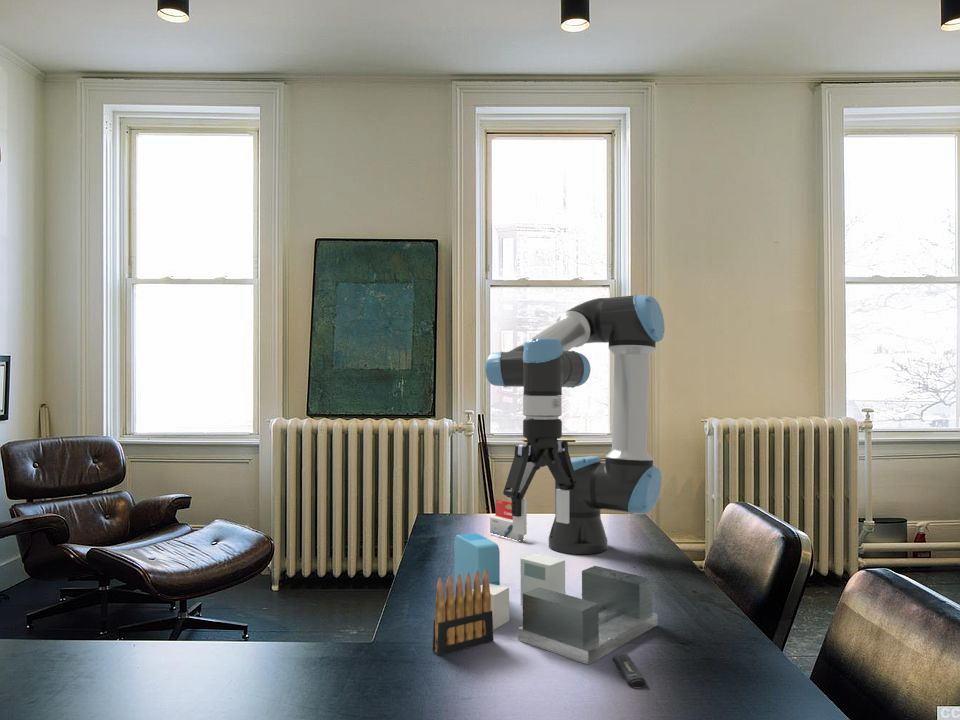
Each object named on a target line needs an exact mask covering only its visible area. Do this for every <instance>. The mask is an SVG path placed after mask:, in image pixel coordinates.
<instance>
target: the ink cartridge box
mask: <svg viewBox="0 0 960 720" xmlns="http://www.w3.org/2000/svg"><path fill="white" fill-rule="evenodd" d="M509 505H510V506H511V507H512V501H508V500H507V501H506V500H501V499H495V515H494V516H490V517H489V534H490V533H493V534H497V535H500V536H504V537H507V538H511V539H514V540H517V541H519V540H523V539H524V540H525V535H521V534H517V533H513V516H512V508H508V507H506V506H509Z"/></svg>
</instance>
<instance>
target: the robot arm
mask: <svg viewBox="0 0 960 720" xmlns="http://www.w3.org/2000/svg"><path fill="white" fill-rule="evenodd" d="M661 308H662V307H661V306H660V303H659V302H658V300H657V298H655V297H654V296H652V295H639V294H638V295H637V294H635V295H625V296H614V297H597V298H593V299H590V300H586V301H584V302H582V303H579V304H577V305H575V306H573V307H572V308H570V309H567V310H566V311H565V312H563V313H561V314H560V315H559V316H558V317H557V319H556V322H555V323H553V324H551V325H550V326H548V327H547V328H545V329H543V330H542V331H540V332H539V333H536V334H535V335H534V336H532V337H530V338H528V339H526V340H525V341H524V342H522V343H521V344H519V345H517V346H516V347H514V348H512V349H510V351H509V350H508V351H498V352H492V353H490V354H489V356H488V357H487V358H486V361H485V366H484V371H485V377H486V379H487V381H488V382H489V384H490V385H492V386H494V387H495V386H497V387H504V388H509V387H518V388H519V387H523V395H522V415H523V416H525V418H524V419H523V420H522V436H523V438H525V439H526V444H521V443H520V444H519V443H516V445H514V456H513V460H512V463H511V466H510V469H509V473H508V475H507V479H506V482H505V485H504V489H503V491H502V492H503V494H502V495H504V496H506V498H509V499H511V502H512V506H511V509H512V516H513V533H517V534H521V535H524V536H526V535H527V528H528V527H527V526H528V525H527V524H528V523H527V520H528V519H527V516H528V515H527V508H528V507H527V506H528V503H527V501H528V499H527V498H525V495H526V493H527V491H528V489H529V487H530V485H531V483H532V481H533V478H534V477H535V475H536V472H537V471H538V470H540V469H541V468H544V467H546V466H547V468H548V470H549V472H550V473H551V476H552V478H554V504H555V505H554V507H555V510H554V514H555V515H554V520H553V523H552V526H551V529H550V532H549V535H548V548H550V550H551V549H552V550H553V551H556V552H559V553H565V554H573V555H593V553H594V554H599V552H600V553H603V552H605V551H607V550H608V548H607V547H608V542H609V541H608V537H607V534H606V530H605V527H604V524H603V522H602V519H601V510H602V511H603V510H604V511H613V512H620V513H621V512H622V513H629V514H630V515H633V514H639V515H640V514H641V515H646V514H648V513H650V512H651V511H653V509H654V508H655V507H656V506H657V505H656V504H657V502H658V500H659V496H660V493H661V489H662V472H661V469H660V468H659V467H657V466H655V465H654V458H653V456H651V454H650V453H649V452H648V427H649V426H648V425H649V424H648V423H649V422H648V420H649V419H648V417H649V416H648V415H649V412H648V411H649V378H650V377H649V376H650V375H649V374H650V373H649V372H650V371H649V370H650V356H651V354H652V353H653V352H655V350H656V348H657V347H656V345H657V342H661V341H662V340H663V339H664V334H665V321H664V314H663V312H662V309H661ZM591 343H592V344H593V343H596V344H597V343H598V344H599V343H604V344H605V343H606V344H608V350H609V351H610V352H612V353H613V357H614V358H613V361H614V362H613V390H612V391H613V394H612V397H613V398H612V428H611V429H612V430H611V431H612V432H611V433H612V434H611V450H610V451H609V452H608V453H607V454H606V455H605V460H604V461H605V462H602V459H601V458H600V456H598V455H597V456H596V455H591V456H578V457H575V456H574V457H570V453H569V443H568V441H567V440H559V439H561V438H562V435H563V426H562V425H563V421H562V419H561V418H559V417H561V416H562V415H563V414H562V411H563V410H562V407H563V406H562V402H563V401H562V399H563V398H562V395H563V392H562V391H563V389H562V388H572V389H573V388H575V387H576V388H577V387H580V386H582V385H584V384H585V383H586V382H587V381H588V380H589V378H590V375H591V370H592V368H591V364H590V360H589V359H588V358H587V357H586V356H585V355H584V354H583V353H580V352H577V351H575V350H571V349H573V348H579V347H582V346H584V345H586V344H591ZM606 549H607V550H606ZM604 550H605V551H604ZM602 551H603V552H602Z"/></svg>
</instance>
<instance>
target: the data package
mask: <svg viewBox="0 0 960 720" xmlns="http://www.w3.org/2000/svg"><path fill="white" fill-rule="evenodd" d="M453 546H454V549H453V550H454V551H453V552H454V553H453V554H454V564H453V566H454V575H453V576H454V577H453V578H454V582H453V586H454V590H455V591H456V580H457V577H458V574H460V575H461V578H462V584H463V597H464V590H465V579H466V575H467V573H468V572H469V574H470V576H471V582H472V589H473V588H474V577H475V573H476V571H477V570H478V572H479V575H480V582H481V585H482V581H483V574H484V571H485V569H487V571H488V575H489V583H490V584H495V585H500V586H501V584H500V583H501V580H500V578H501V577H500V575H501V574H500V572H501V571H500V568H501V567H500V565H501V563H500V562H501V560H500V559H501V558H500V548H499V544H498V543H496V542H494V541H493V540H491V539H488V538H487V537H485V536H483V535H481V534H479V533H477V532H472V533H465V534H457V535H455V537H454V544H453Z"/></svg>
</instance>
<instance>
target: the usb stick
mask: <svg viewBox="0 0 960 720" xmlns="http://www.w3.org/2000/svg"><path fill="white" fill-rule="evenodd" d="M612 660H613V662H614V663H615V665H616V667H617V668H618V671H619V672H620V671H621V672H620V673H621V675H622V677H623V676H624V677H623V679H624V680H625V681H626V683H627V685H628V686H629V687H630V686H631V688H632V687H642V688H644V687H645V686H646V680H645V679H644V677H643V675H642V674H641V672H640V671H639V669H638V668H637V667H636V665H635V663H634V662H633V660H632V659H631V657H630V656H629V654H627V653H626V652H623V653H622V652H621V653H617V654H614V655H613V658H612Z"/></svg>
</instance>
